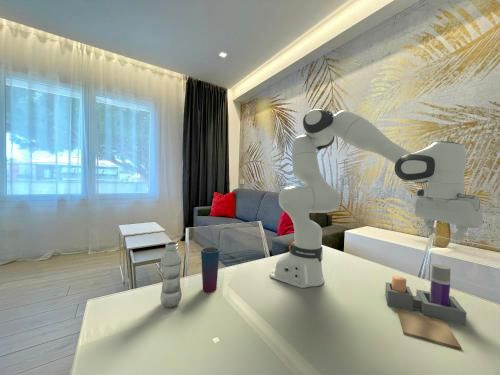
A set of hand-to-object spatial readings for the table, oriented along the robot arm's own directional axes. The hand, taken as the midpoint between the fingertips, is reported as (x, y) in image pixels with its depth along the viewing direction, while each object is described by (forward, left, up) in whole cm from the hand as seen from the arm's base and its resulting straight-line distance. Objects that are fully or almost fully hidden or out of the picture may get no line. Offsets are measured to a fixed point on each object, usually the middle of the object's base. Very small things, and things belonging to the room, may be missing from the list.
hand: (443, 236), depth 71 cm
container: (0, 0, -25) cm, 25 cm away
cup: (-73, -24, -25) cm, 81 cm away
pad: (-6, -12, -25) cm, 28 cm away
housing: (-5, 0, -25) cm, 25 cm away
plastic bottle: (-78, -38, -25) cm, 90 cm away
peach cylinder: (-11, 0, -24) cm, 27 cm away
